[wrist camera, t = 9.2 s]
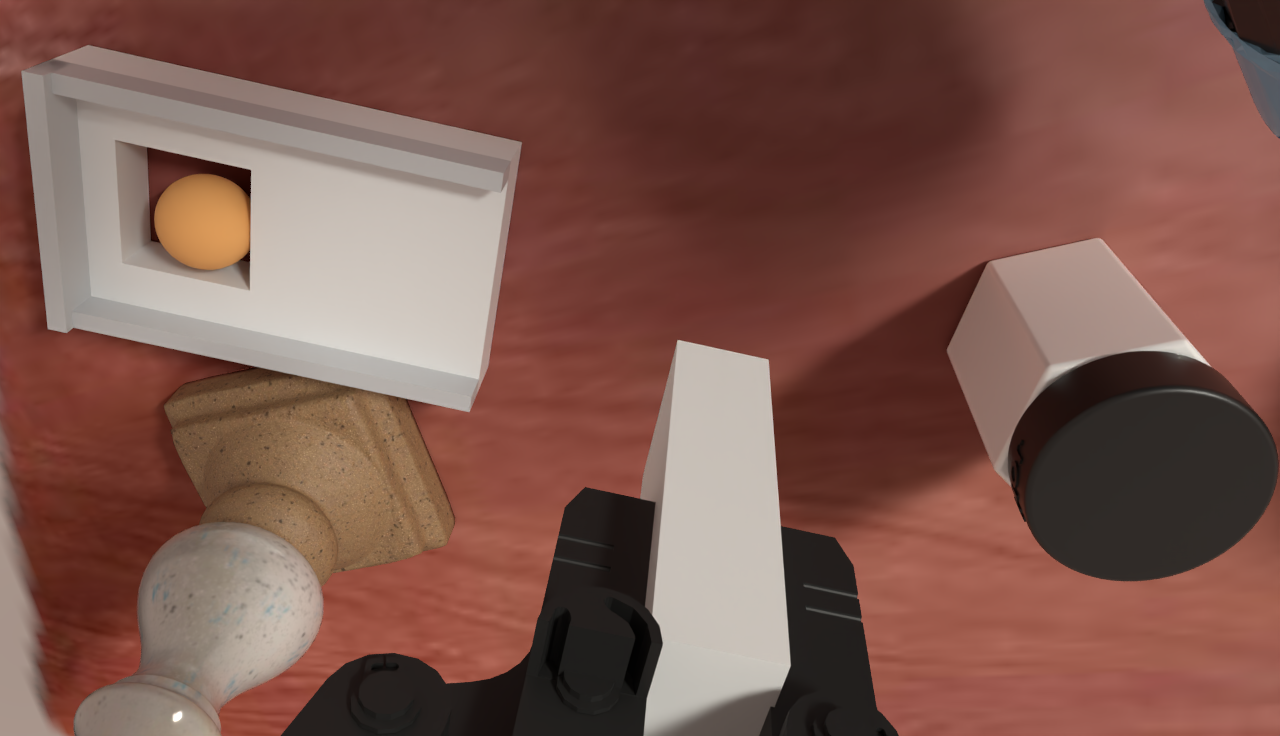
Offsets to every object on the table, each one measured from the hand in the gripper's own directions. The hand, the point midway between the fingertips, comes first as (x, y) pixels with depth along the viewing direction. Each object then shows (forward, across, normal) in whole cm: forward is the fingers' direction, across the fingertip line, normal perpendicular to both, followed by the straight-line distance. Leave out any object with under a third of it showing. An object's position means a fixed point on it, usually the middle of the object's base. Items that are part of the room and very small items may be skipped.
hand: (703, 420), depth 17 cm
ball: (+24, -19, -11) cm, 33 cm away
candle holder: (+27, -15, -23) cm, 38 cm away
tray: (+26, -16, -10) cm, 33 cm away
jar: (+27, +17, -8) cm, 33 cm away
